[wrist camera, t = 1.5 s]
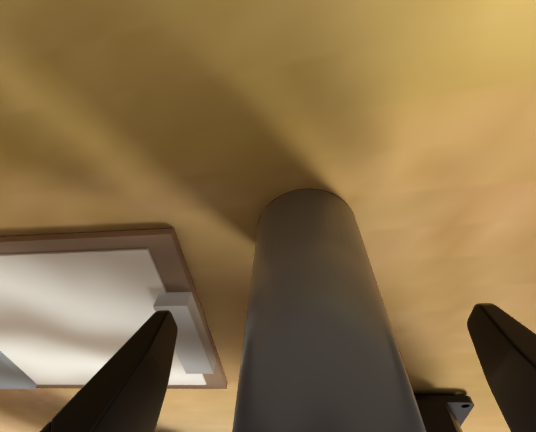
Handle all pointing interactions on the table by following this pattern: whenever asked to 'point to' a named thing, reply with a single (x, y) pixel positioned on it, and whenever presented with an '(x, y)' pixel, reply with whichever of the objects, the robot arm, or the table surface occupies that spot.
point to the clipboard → (96, 307)
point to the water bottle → (318, 328)
